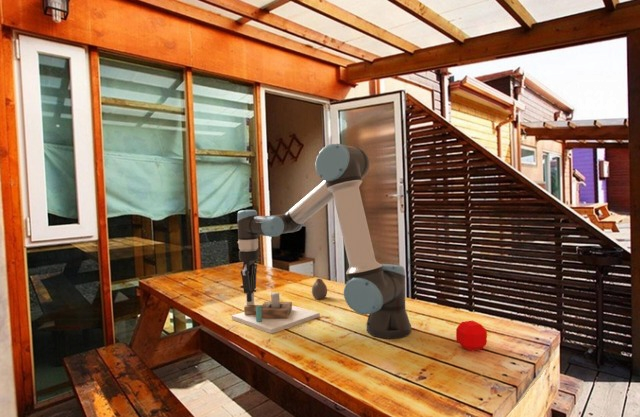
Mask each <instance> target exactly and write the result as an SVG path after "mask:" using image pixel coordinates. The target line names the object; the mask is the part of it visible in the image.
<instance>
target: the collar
mask: <svg viewBox="0 0 640 417" xmlns="http://www.w3.org/2000/svg"><path fill="white" fill-rule="evenodd" d="M292 305H293V302H292V301H280V308H271V301H264V302H263V303H262V305H261V304H254V305H247V304H245V305H244V306H243V307H244V308H243V312H244V315H256V306H261V311H262V318H288V316H289V314H290V312H291V310H292Z"/></svg>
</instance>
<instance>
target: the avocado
mask: <svg viewBox="0 0 640 417" xmlns="http://www.w3.org/2000/svg"><path fill="white" fill-rule="evenodd" d="M311 294H312V296H313V298H314V299H315V300H324V299H325V298H326V297H327V295H328V287H327V285H326V284H325V282H324V281H323V279H322V278H316V280H315V281H314V284H313V285H312V288H311Z"/></svg>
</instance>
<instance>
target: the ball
mask: <svg viewBox="0 0 640 417" xmlns="http://www.w3.org/2000/svg"><path fill="white" fill-rule="evenodd" d="M455 335H456V336H455V338H456V339H455V341H456V342H457V343H458V344H459V345H460V346H461V347H462V346H463V348H465V349H466V350H468V351H469V350H470V351H469V352H473V351H472V350H474V351H478V350H477V349H480V350H482V349H483V348H484V347H486V346H487V341H488V340H487V338H488V331H487V329H486V328H485V326H483V325H482V324H481V323H480V322H476V321H475V320H465V321H461V322H460V323H459V324H458V326H457V327H456V330H455Z"/></svg>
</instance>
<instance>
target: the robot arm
mask: <svg viewBox="0 0 640 417" xmlns="http://www.w3.org/2000/svg"><path fill="white" fill-rule="evenodd" d="M315 159H316V160H315V164H314V165H315V171H316V174H317V175H318V177H319V178H321V179H322V181H321V182H320V183H319V184H318V185H316V187H314V188H312V190H311V191H310V192H308V193H307V194H306V195H305V196H304V197H303V198H301V199H300V200H299V201H298V202H297V203H296V204H294V205H293V206H292V207H291V208H290V209H289V210H288V211H286V212H285V213H283V214H282V213H281V214H273V215H258V211H257V210H255V209H245V210H244V209H242V210H239V211H238V212H237V219H236V220H237V221H236V223H237V235H238V236H237V240H238V241H237V244H238V249H239V251H238V260H239V261H242V262H243V263H242V270H240V275H241V281H242V289H243V294H245V295H246V305H255V293H256V292H257V270H258V264H257V263H256V261H257V260H259V250H258V249H259V237H258V236H263V237H270V238H271V237H278V236H280V235H282V234H288V233H290V234H291V233H295V232H298V231H300V230H301V229H302V227H303V224H304V223H305V222H307V221H308V220H309V219H310V218H312V216H314V215H315V214H316V213H317V212H319V211H320V210H321V209H323V208H324V207H325V206H326V205H327V204H329V203H330V202H331V201H334V203H335V204H334V205H335V208H336V213H337V217H338V222H339V227H340V232H341V234H342V235H341V236H342V240H343V244H344V249H345V253H346V259H347V262H348V269H347V270H346V272H345V275H346V280H347V282H346V284H345V286H344V288H343V297H344V301H345V302H346V305H347V306H348V307H349V308H350V309H351V310H353V311H354V312H355V313H357V314H360V315H368V318H367V320H366V327H365V328H366V330H365V331H366V332H367V333H368V334H369V335H371V336H373V337H377V338H382V339H400V338H405V337H407V336H409V335H410V334H411V333H412V324H411V322H410V318H409V316H408V312H407V310H406V270H405V268H404V266H403V265H399V264H391V263H379V262H378V261H377V260H376V257H375V251H374V247H373V243H372V240H371V238H372V237H371V235H370V230H369V225H368V222H367V221H368V220H367V218H366V212H365V209H364V205H363V204H364V203H363V199H362V195H361V191H360V186H361V184H362V183H363V179H364V178H365V177H366V176H367V174H368V173H369V171H370V167H371V161H370V158H369V156H368V154H367V152H366V151H365V150H363V149H362V148H360V147H358V146H351V145H345V144H343V143H330V144H328V145H325V146H324V147H322V148H321V150H320V151H319V152H318V154H317V156H316V158H315Z"/></svg>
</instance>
